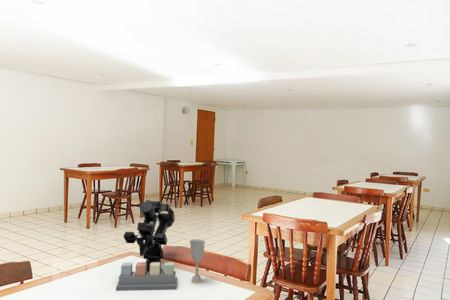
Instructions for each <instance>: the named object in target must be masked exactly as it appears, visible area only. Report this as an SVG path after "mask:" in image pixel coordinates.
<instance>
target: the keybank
mask: <svg viewBox="0 0 450 300" xmlns="http://www.w3.org/2000/svg"><path fill="white" fill-rule="evenodd" d="M176 273H177V271H176V270H174V275H168V276H164V270H162V271H160V276H150V271H149V272H147V271H146V276H136V271H132V276H121V273H119V275H118V283H117V284H116V286H115V291H152V290H153V291H157V290H162V291H163V290H167V291H168V290H177V289H178V276H176V275H177V274H176Z"/></svg>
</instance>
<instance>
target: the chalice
mask: <svg viewBox="0 0 450 300" xmlns="http://www.w3.org/2000/svg"><path fill="white" fill-rule="evenodd" d="M188 242H189V243H190V255H191V257H192V260H193V261H194V262H195V270H194V271H195V275H193V276H192V279H191V280H190V282H191V283H193V284H200V283H202V282H203V279H202V276H201V275H200V274H199V271H200V270H199V266H200V265H199V262H201V261H202V259H203V256H204V254H205V243H206V240H204V239H201V238H197V239H195V238H194V239H190V240H189V241H188Z"/></svg>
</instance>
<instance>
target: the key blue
mask: <svg viewBox="0 0 450 300" xmlns="http://www.w3.org/2000/svg"><path fill="white" fill-rule="evenodd" d="M132 272H133V262H123V263H122V264H121V266H120V274H121V276H132Z"/></svg>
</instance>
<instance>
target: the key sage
mask: <svg viewBox="0 0 450 300" xmlns="http://www.w3.org/2000/svg"><path fill="white" fill-rule="evenodd" d="M163 271H164V276H168V275H174V271H175V261H174V262H173V261H169V262H168V261H164V264H163Z"/></svg>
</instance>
